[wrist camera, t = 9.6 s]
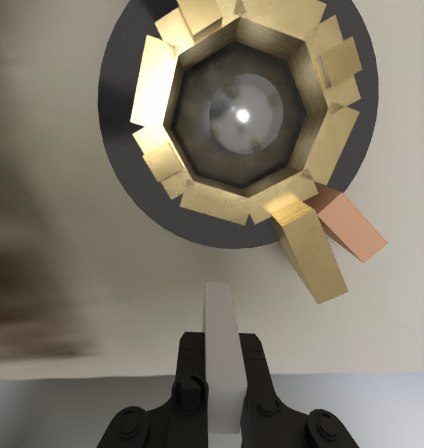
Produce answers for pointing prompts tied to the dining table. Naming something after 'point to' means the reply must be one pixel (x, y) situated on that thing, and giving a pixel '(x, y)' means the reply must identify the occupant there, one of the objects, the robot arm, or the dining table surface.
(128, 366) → the dining table surface
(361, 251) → the block
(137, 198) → the plate
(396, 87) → the dining table surface
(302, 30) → the gold octagonal ring
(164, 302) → the dining table surface
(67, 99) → the dining table surface
